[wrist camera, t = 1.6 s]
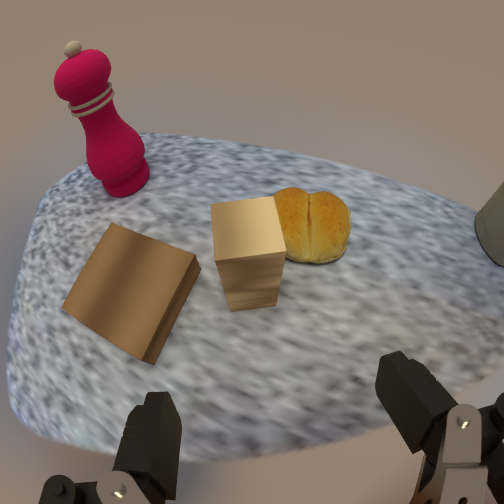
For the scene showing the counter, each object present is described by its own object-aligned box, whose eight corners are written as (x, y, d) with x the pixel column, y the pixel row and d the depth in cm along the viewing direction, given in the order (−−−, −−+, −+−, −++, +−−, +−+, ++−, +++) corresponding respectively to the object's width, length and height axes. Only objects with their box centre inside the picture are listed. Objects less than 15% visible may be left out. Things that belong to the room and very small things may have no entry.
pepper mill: (163, 176, 32) (116, 25, 15) (116, 211, 30) (39, 65, 12) (138, 153, 35) (94, 26, 17) (96, 182, 32) (34, 59, 15)
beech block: (268, 265, 26) (273, 196, 17) (275, 305, 24) (286, 250, 16) (225, 271, 26) (210, 204, 17) (230, 311, 24) (215, 260, 15)
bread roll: (267, 194, 31) (268, 169, 27) (345, 206, 30) (355, 183, 26) (254, 259, 27) (254, 237, 23) (345, 273, 26) (358, 253, 22)
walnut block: (201, 269, 26) (194, 254, 23) (154, 364, 22) (141, 360, 19) (122, 237, 28) (111, 222, 25) (77, 317, 24) (61, 307, 21)
